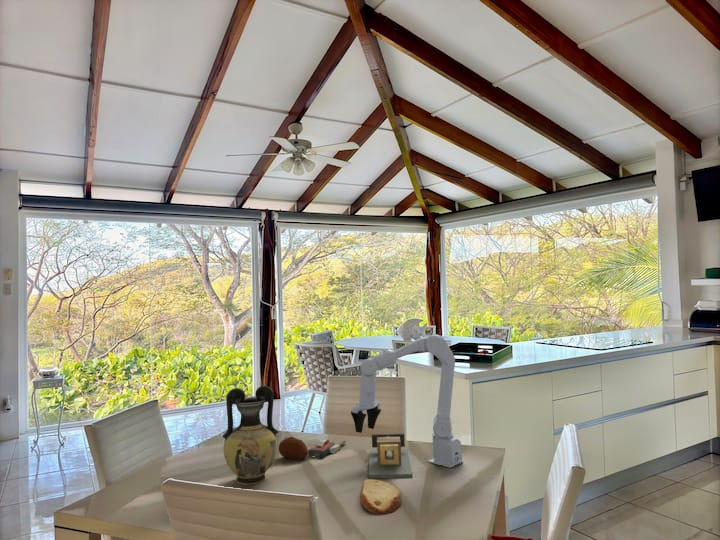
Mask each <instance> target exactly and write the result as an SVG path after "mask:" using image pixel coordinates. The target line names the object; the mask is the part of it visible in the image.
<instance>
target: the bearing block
mask: <svg viewBox="0 0 720 540" xmlns="http://www.w3.org/2000/svg"><path fill="white" fill-rule="evenodd" d="M392 444H398V456H399V464H384V465H401V450H402V449H401V448H402V447H401V441H400V437H377V447H376V451H377V455H378V466H381V458H380V445H392ZM392 455H393V456H392V458H394V450H392ZM385 458H387V456H386V451H385Z"/></svg>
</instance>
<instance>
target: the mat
mask: <svg viewBox="0 0 720 540" xmlns="http://www.w3.org/2000/svg"><path fill="white" fill-rule="evenodd" d="M408 452H409V451H408V449H401V465H381V466H378V455H377V450H369V461H368V462H369V464H368V479H385V478H386V479H390V478H391V479H392V478H398V479H399V478H413V472H412V468H411V467H412V465H411V461H410V457H409V453H408Z"/></svg>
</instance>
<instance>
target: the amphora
mask: <svg viewBox="0 0 720 540" xmlns="http://www.w3.org/2000/svg"><path fill="white" fill-rule="evenodd" d="M225 401H226V402H225V403H226V414H227V415H226V417H227V430H226V431H225V432H224V434H223V435H222V438H223V439H224V440H223V441H224V442H223V455H224V459H225V463H226V464H227V466H228V468H229V470H231V472H232V473H233V474H235V475H236V476H237V477H236V482H237V483H238V484H240V485H247V486H248V485H249V486H250V485H257V484H260V483H262V482H264V481H266V472H267V471H268V470H269V469H270V467H271V466H272V464H273V463H274V460H275V458H276V455H277V454H276V453H277V449H278V438H277V434H279V431H278V429H276V428H275V427H274V425H273V412H274V402H275V399H274V391H273V390H272V388H271V387H269V386H268V385H260V386H259V387H258V388H257V389H255V396H246V393H245V391H244V390H243V389H242V388H239V387H234V388H232V389H231V390H229V392H228V393H226V400H225ZM265 403H267V411H266V425H265V424H263V423H262V422H261V418H260V417H261V416H260V415H261V414H260V412H261V411H262V409H263V408H264V406H265V405H264V404H265ZM233 405H235V406H236V409H237V411H238V412H239V413H240V422H239V425H238V426H236V427H235V428H234V416H233V413H234V412H233Z"/></svg>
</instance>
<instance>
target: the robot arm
mask: <svg viewBox="0 0 720 540" xmlns="http://www.w3.org/2000/svg"><path fill="white" fill-rule="evenodd" d="M426 350H427V351H428V352H429V353H430V354H432V355H433V356H435V357H436V358H437V359H438V361H439V362H440V363H441V369H440V381H439V391H438V402H437V410H436V412H437V413H436V415H435V417H434V419H433V424H432V425H433V426H432V431H433V433H432V450H433V452H432V453H433V458H432V459H429V460H428V461H427V462H428V463H431V464H435V465H438V466H441V465H442V467H445V468H453V467H456V466H458V465H460V464H462V463H461V462H463V463H464V460H463V455H462V453H463V452H462V443H461V441H460V439H458V438H456V437H455V436H454V432H452V430H453V429H452V420H451V406H452V397H453V386H454V385H453V384H454V377H455V376H454V375H455V367H456V366H455V365H456V357H455V355H454V353H453V352H452V350H451V348H450V346H449V344H448V342H447V341H446V339H444V338H443V337H442V336H441V335H439V334H436V333H433V334H430V335H428V336H424V337H420V338H418V339H416V340H415V339H414V340H413V341H411V342H410V343H407V344H405V345H403V346H401V347H399V348H397V349H395V350H392V349H390V348H388V349H386V348H384V349H382V351H381V352H380V353H378V354H375V355H374V354H371V355H370V357H369V358H366V359H364V360H363V361H362V362H361V364H360V372H361V373H360V383H359V384H360V385H359V394H358V395H359V397H358V402H356V404H355V405H354V406H352V409H351V411H350V414H351V417H352V419H353V422H354V427H355V432H356V433H359V434H361V433H362V432H363V428H364V424H365V423H364V422H365V419H366V417H367V429H372V430H374V429H375V426H376V423H377V419H378V418H379V415H380V413H382V409H381V408H380V407H381V405H380V404H381V402H380V401H376V390H377V389H376V388H377V372H378V371H383V370H384V369H387V368H389V367H391V366H393V365H396V363H397V362H398V359H400V358H402V357H405V356H408V355H410V354H412V353H414V352H415V353H416V352H417V351H420V352H426ZM364 411H366V413H363V412H364ZM459 463H460V464H459ZM457 464H458V465H457ZM455 465H456V466H455Z"/></svg>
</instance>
